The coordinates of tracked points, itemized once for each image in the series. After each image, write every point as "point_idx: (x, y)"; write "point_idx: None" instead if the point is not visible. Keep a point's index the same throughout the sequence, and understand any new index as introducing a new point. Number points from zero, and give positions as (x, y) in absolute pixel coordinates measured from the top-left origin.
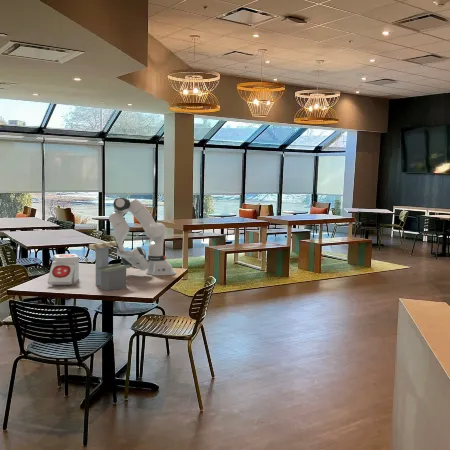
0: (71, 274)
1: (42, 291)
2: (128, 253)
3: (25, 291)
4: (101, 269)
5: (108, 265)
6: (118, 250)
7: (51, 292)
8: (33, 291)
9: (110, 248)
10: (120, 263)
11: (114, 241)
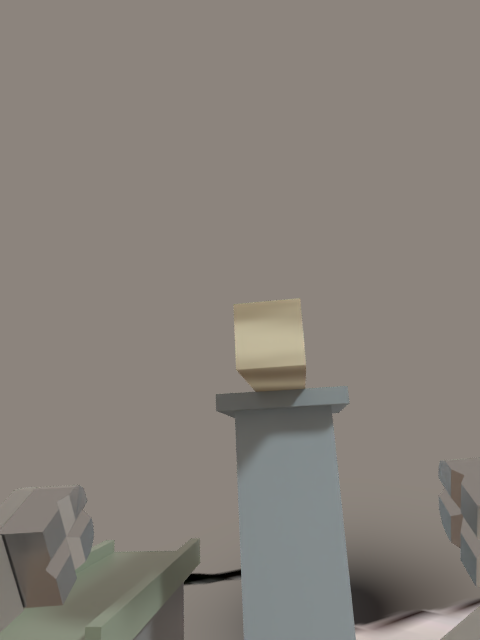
0: (464, 619)
1: (422, 622)
2: (38, 594)
3: (468, 604)
4: (163, 551)
5: (167, 565)
6: (441, 502)
7: (372, 627)
8: (447, 612)
9: (216, 406)
10: (91, 626)
11: (267, 304)
